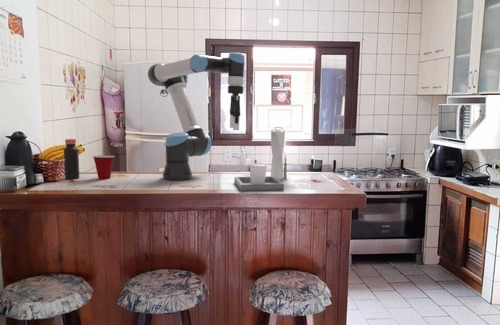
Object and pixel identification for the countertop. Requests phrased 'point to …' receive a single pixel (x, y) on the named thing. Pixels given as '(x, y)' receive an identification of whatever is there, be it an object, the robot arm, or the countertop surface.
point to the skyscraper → (278, 154)
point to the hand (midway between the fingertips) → (234, 129)
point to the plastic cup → (103, 166)
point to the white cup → (257, 173)
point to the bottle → (71, 159)
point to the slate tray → (269, 185)
